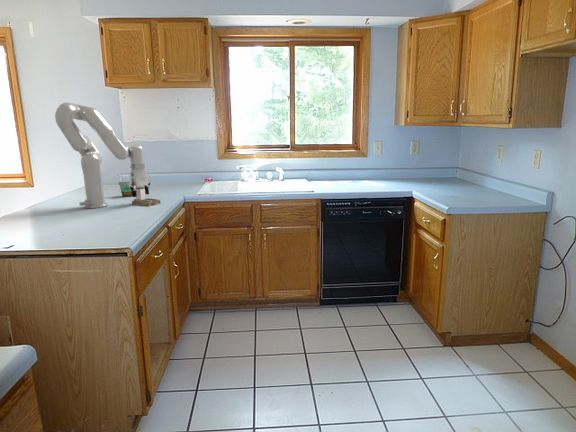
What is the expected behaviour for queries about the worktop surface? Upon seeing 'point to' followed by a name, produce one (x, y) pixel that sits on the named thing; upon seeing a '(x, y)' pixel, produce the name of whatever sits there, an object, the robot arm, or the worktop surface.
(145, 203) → the rail board
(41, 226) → the worktop surface
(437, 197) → the worktop surface
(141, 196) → the slider tab
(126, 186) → the food container
